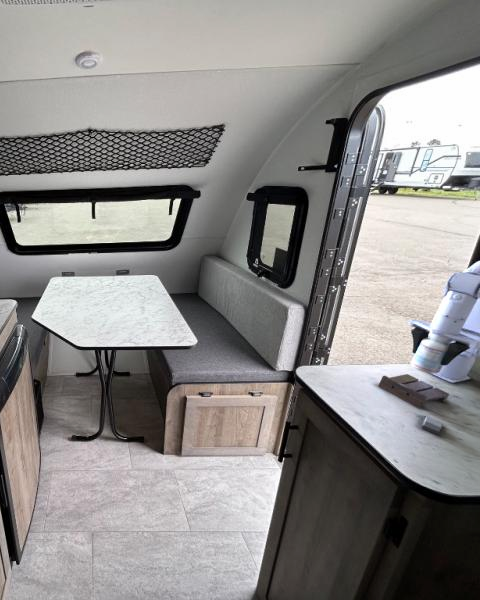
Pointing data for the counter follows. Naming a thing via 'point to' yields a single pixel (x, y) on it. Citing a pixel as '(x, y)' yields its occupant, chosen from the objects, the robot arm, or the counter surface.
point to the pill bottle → (431, 353)
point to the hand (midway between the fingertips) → (429, 358)
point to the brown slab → (412, 389)
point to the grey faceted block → (431, 425)
